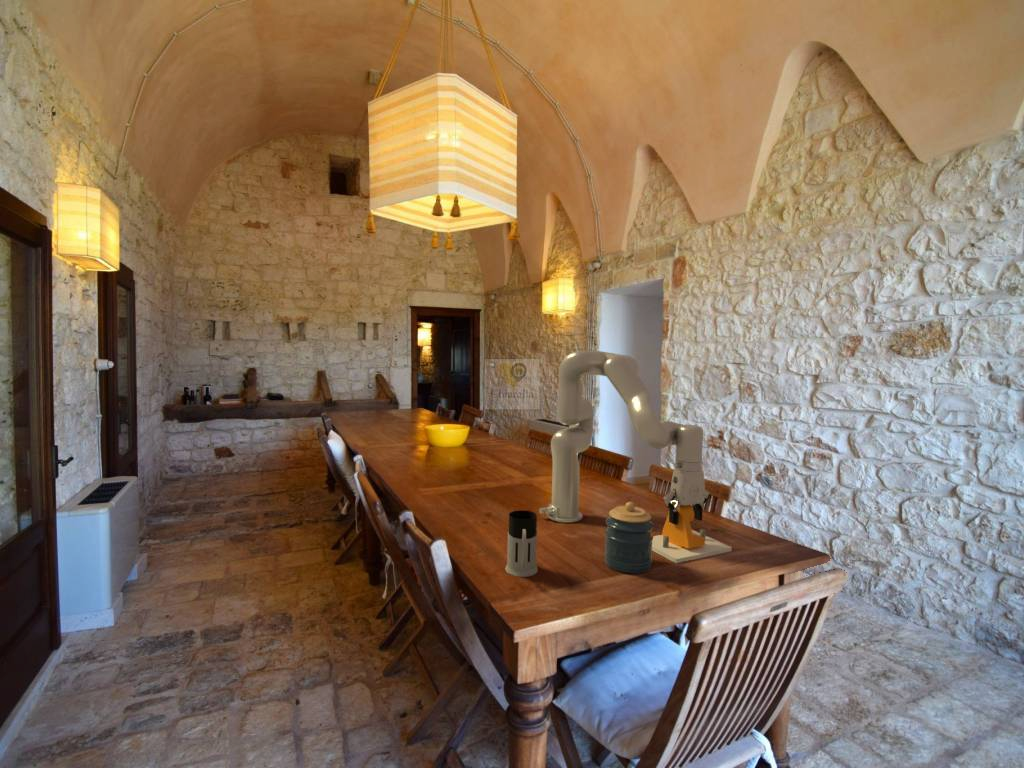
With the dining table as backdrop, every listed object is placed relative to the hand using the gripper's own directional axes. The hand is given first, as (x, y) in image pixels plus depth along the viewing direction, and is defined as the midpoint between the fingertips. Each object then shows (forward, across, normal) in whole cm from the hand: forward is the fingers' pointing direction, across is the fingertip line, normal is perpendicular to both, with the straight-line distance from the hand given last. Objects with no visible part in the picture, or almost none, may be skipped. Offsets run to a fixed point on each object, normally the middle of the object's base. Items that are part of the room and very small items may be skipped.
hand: (685, 521), depth 149 cm
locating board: (+8, 0, 0) cm, 8 cm away
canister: (+8, -24, -3) cm, 26 cm away
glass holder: (+8, -54, +3) cm, 55 cm away
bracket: (+7, 0, 0) cm, 7 cm away
